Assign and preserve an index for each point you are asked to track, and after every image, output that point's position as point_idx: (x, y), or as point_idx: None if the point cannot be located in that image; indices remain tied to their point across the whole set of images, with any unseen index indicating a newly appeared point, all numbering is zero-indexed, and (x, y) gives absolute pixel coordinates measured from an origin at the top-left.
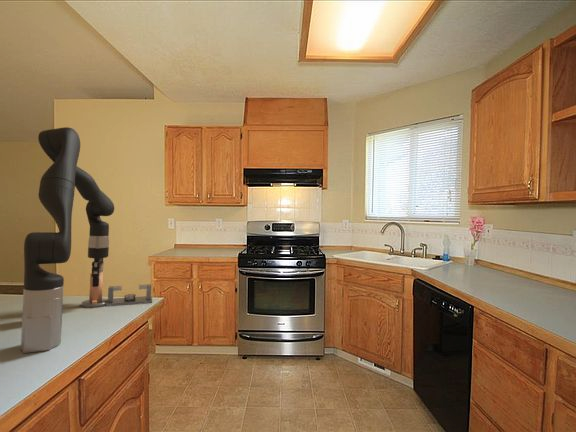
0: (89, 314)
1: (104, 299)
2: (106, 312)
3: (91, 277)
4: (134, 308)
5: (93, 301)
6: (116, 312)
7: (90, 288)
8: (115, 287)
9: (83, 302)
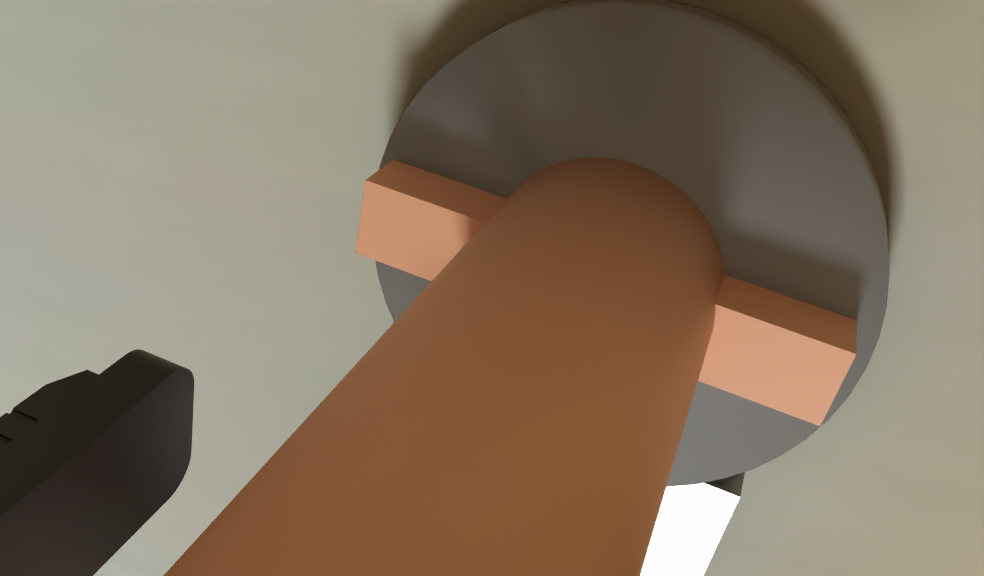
0: (61, 34)
1: (684, 440)
2: (97, 252)
3: (203, 559)
4: (171, 549)
5: (387, 211)
6: (68, 346)
7: (431, 311)
8: None
9: (665, 55)
